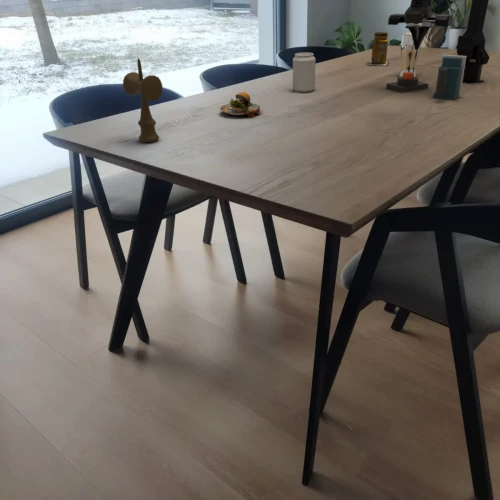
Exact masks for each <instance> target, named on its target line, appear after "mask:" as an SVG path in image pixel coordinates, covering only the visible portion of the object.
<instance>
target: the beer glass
mask: <svg viewBox="0 0 500 500" xmlns="http://www.w3.org/2000/svg"><path fill="white" fill-rule="evenodd" d="M422 43H423V42H422ZM422 43H421V45H420V47H419V49H418V50H415V47H414V43H413V38H412V35H411V32H410V31H406V32H402V38H401V44H400V62H401V66H400V72H399V75H398V77H401V76H403V72H413V73H414V77H417V65H418V62H419V59H420V58H419V57H420V54H421V51H422Z"/></svg>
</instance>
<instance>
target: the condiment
mask: <svg viewBox="0 0 500 500" xmlns="http://www.w3.org/2000/svg"><path fill="white" fill-rule="evenodd" d="M388 45H389V40H388V32H386V31H375V32H374V36H373V40H372V49H371V60H370V61H369V62H368V66H387V65H388V61H387V56H388Z"/></svg>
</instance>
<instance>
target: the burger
mask: <svg viewBox="0 0 500 500" xmlns="http://www.w3.org/2000/svg"><path fill="white" fill-rule="evenodd" d="M245 87H246V88H247V86H245ZM260 108H261V106H260V105H259V104H256V103H252V102H251V96H250V94H248V93H247V92H246V91H240V92H238V93H236V94H235V100H234V98H233V97H231V98H230V101H229V102H228V104H224V105H222V106H220V107H219V110H220V111H221V112H222V113H225V114H227V115H232V116H244V115H247V117H248V119H250V118H254V117H255V115H256V114H257V115H260V114H261V109H260Z"/></svg>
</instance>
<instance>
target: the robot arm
mask: <svg viewBox="0 0 500 500" xmlns="http://www.w3.org/2000/svg"><path fill="white" fill-rule="evenodd" d="M433 2H434V0H411V1H410V5H409V7H408V8H407V9H406V10H405V11H404V13H393V14H390V15H389V16H388V18H387V26H389V25H390V26H397V25H399V24H405V26H404V28H405V29H408V31H409V32H411V35H412V38H413V43H414V47H415V50H418V49H419V47H420V45H421V46H422V44H421V43H423V41H424V39H425V37H426V35H427V33H429V30H430V29H432V28H434V25H435V26H436V27H450V26H452V25H453V24H454V15H453V14H437V15H436V16H432V5H433V4H432V3H433ZM488 6H489V0H471V5H470V10H469V15H468V21H467V26H466V30H465V32H464V33H463V34H462V35H458V38H457V44H456V47H455V49H456V54H457V56H466V62H465V69H464V75H463V81H462V83H465V84H475V83H483V82H484V79H481V76H482V70H483V66H484V65H487V64H488V62H489V60H490V55H489V54H488V52H487V50H486V37H485V34H484V32H483V31H484V25H485V20H486V15H487V10H488Z"/></svg>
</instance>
